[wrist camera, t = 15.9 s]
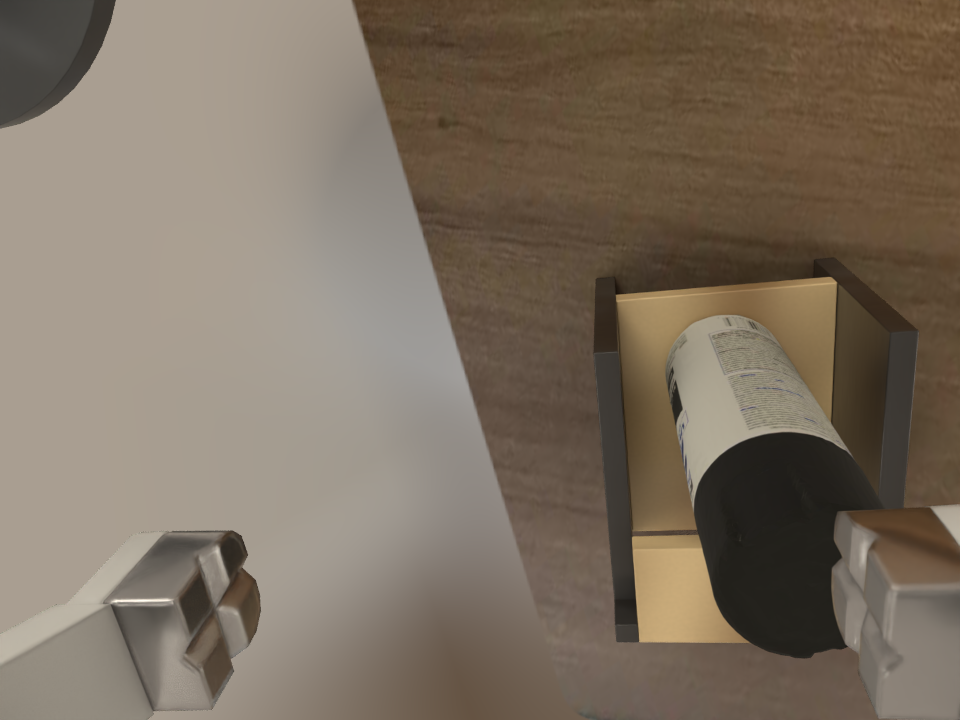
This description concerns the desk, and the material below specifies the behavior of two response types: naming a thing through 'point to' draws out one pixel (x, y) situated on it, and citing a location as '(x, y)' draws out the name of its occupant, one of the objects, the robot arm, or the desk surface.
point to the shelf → (654, 441)
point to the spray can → (762, 483)
